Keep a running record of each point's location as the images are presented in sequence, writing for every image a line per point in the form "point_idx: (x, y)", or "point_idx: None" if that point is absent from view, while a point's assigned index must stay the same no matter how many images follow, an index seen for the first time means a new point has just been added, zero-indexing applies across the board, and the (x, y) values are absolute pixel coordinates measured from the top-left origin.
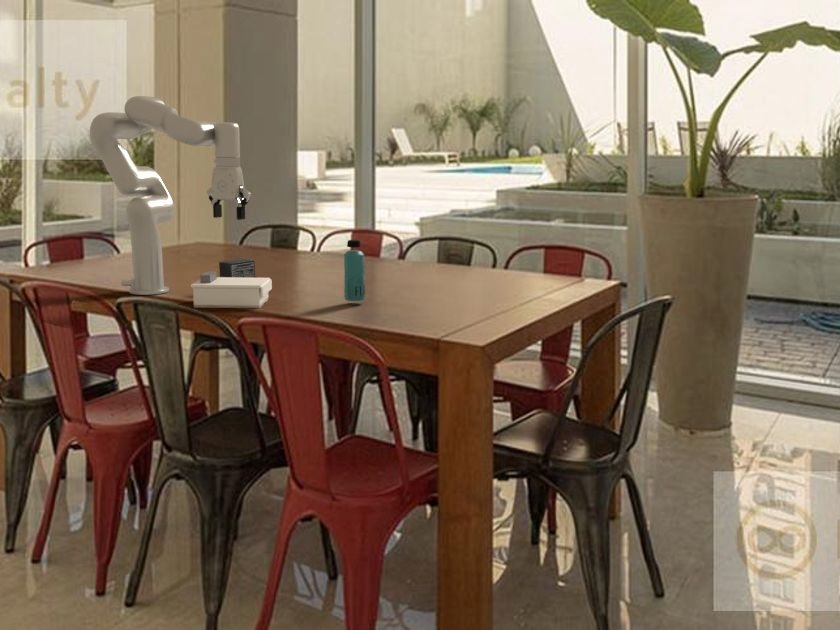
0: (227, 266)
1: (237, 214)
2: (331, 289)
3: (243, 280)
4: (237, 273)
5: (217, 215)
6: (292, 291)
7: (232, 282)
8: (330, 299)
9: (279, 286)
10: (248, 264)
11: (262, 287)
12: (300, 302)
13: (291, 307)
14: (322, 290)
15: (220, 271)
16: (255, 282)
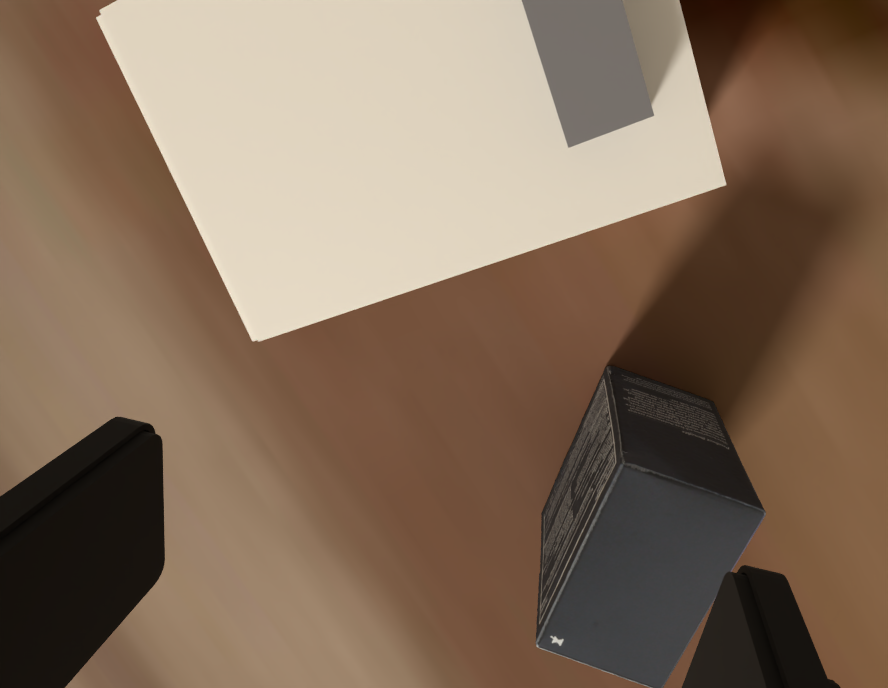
0: (656, 460)
1: (71, 465)
2: (221, 626)
3: (340, 164)
4: (592, 468)
5: (714, 640)
6: (349, 538)
7: (355, 39)
8: (66, 402)
9: (491, 642)
10: (555, 582)
11: (99, 20)
12: (130, 280)
13: (76, 131)
14: (240, 595)
15: (734, 465)
16: (210, 117)
